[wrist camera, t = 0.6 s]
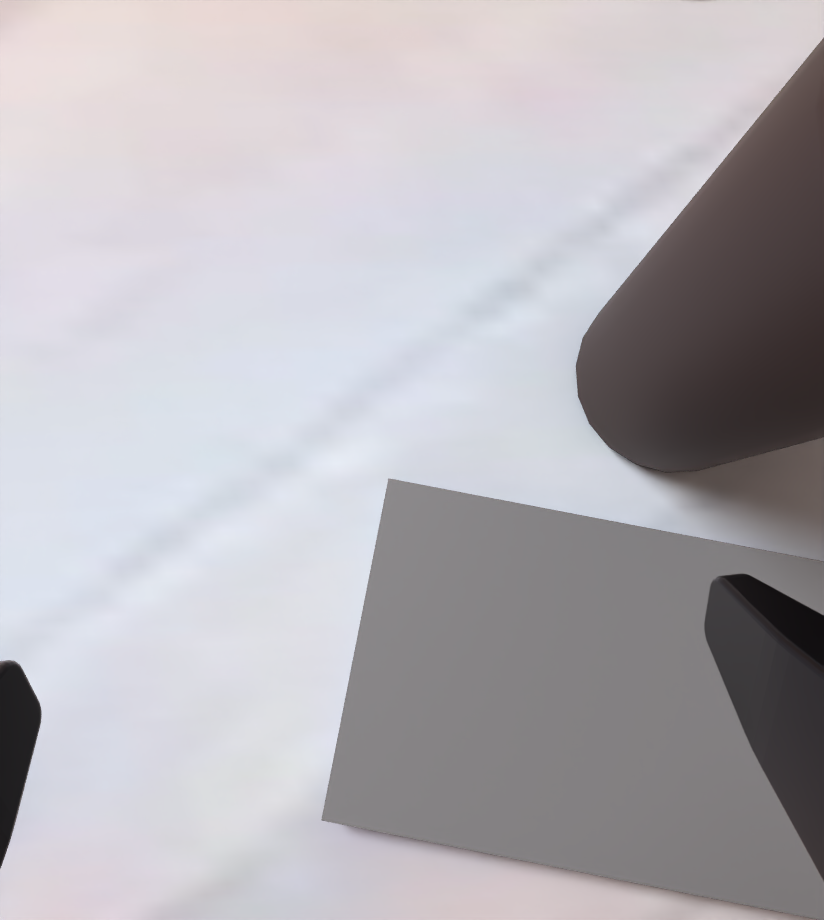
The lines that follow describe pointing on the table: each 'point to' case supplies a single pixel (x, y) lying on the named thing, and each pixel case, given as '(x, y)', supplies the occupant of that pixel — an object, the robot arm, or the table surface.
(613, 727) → the gray board
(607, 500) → the table surface
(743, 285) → the vinegar
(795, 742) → the robot arm
